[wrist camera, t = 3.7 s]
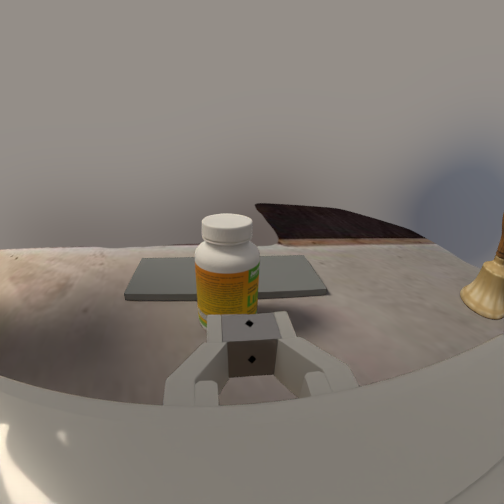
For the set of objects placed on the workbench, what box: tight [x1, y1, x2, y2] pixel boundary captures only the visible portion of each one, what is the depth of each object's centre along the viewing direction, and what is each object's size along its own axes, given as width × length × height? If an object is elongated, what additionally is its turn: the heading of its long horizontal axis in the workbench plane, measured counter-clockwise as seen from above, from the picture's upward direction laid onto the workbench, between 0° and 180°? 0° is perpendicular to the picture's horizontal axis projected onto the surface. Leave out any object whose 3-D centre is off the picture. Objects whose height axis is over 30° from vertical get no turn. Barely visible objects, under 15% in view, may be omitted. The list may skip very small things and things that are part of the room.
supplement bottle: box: [195, 214, 260, 331], centre depth 23 cm, size 5×5×10 cm
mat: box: [124, 255, 327, 300], centre depth 32 cm, size 22×9×1 cm, turn 97°
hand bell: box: [460, 214, 504, 319], centre depth 24 cm, size 8×8×16 cm
